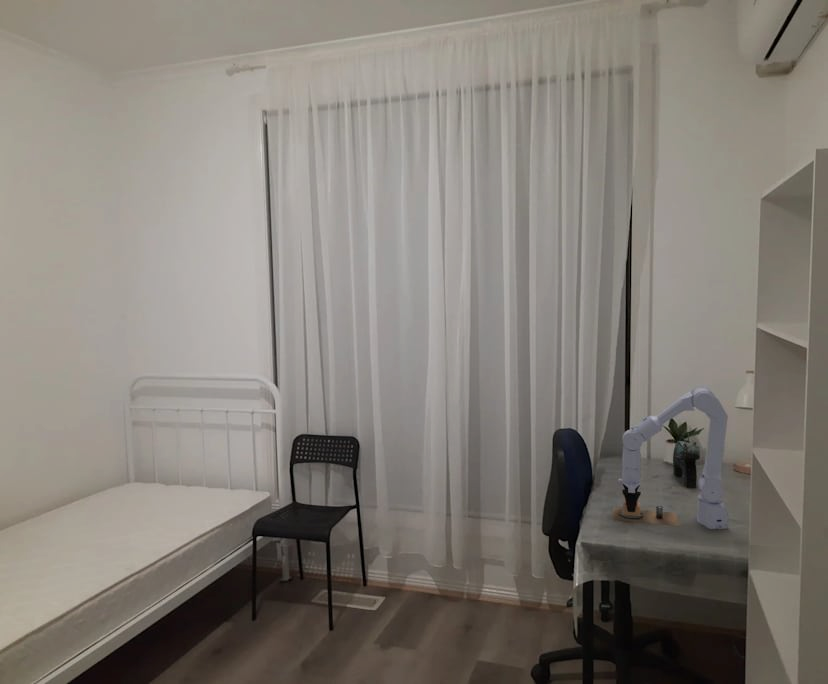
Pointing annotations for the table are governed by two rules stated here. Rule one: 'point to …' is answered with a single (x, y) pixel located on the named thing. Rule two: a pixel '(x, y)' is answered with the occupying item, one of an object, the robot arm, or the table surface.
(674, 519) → the walnut board
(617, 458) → the table surface
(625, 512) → the collar
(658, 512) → the stand rod
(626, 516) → the hub
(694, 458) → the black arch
